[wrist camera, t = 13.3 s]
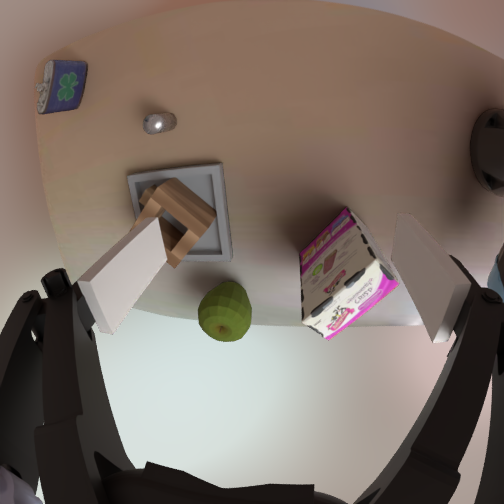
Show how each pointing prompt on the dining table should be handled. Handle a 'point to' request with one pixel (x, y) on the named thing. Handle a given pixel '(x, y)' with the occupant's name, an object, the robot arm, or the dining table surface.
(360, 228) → the candy bar box
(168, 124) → the silver capsule
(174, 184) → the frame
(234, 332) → the apple
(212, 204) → the tray
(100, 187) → the dining table surface
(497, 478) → the robot arm
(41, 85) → the flask
